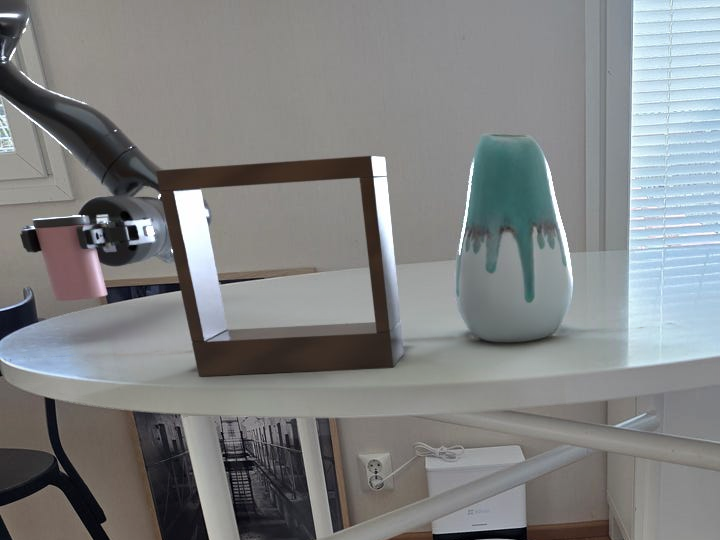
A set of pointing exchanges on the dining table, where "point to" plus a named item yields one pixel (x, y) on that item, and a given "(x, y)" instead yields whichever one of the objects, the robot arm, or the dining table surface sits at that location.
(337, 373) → the dining table surface
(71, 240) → the liner canister
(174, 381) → the dining table surface
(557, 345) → the dining table surface
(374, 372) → the dining table surface
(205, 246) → the shelf
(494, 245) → the vase
